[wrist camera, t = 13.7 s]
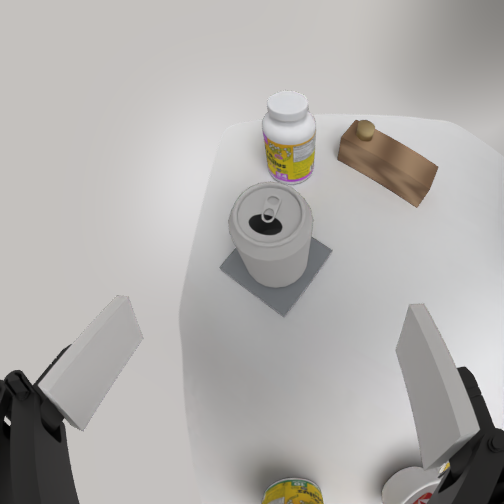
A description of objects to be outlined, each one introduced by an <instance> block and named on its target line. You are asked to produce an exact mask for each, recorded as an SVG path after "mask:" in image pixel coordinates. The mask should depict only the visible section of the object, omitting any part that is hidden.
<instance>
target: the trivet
mask: <svg viewBox="0 0 504 504" xmlns="http://www.w3.org/2000/svg"><path fill="white" fill-rule="evenodd" d="M332 251H333V250H331V249H330V248H328V247H327V246H325V245H324V244H322V243H321V242H319V241H318V240H316V239H314V238H313V237H311V241H310V248H309V255H308V261H307V267H306V269H305V271H304V273H303V274H302V276H301V277H300V278H299V279H298V280H297V281H295V282H294V283H292V284H290V285H288V286H286V287H279V288H273V287H267V286H264V285H262V284H260V283H258V282H257V281H256V280H255V279H254V278H253V277H252V276H251V275H250V274H249V272H248V270H247V268H246V266H245V264H244V262H243V260H242V258H241V256H240V254H239V252H238V250H237V248H235V250H234V251H233V252H232V253H231V254H230V256H229V257H228V258H227V259H226V260H225V262H224V263H223V264H222V265H221V266H220V269H221V270H222V271H223V272H224V273H226V274H227V275H228V276H230V277H231V278H232V279H234V280H235V281H236V282H237V283H239V284H240V285H241V286H243V287H244V288H245V289H247V290H248V291H249V292H251V293H252V294H253V295H255V296H256V297H257V298H259V299H260V300H261V301H263V302H264V303H265V304H267V305H268V306H269V307H271V308H272V309H273V310H275V311H276V312H277V313H279V314H280V315H281V316H283V317H285V316H286V315H287V314H288V312H289V311H290V310H291V308H292V307H293V306H294V304H295V303H296V302H297V300H298V299H299V298H300V296H301V295H302V294H303V292H304V291H305V290H306V288H307V287H308V286H309V284H310V283H311V281H312V280H313V279H314V277H315V276H316V274H317V273H318V272H319V270H320V269H321V267H322V266H323V265H324V263H325V262H326V260H327V259H328V258H329V256H330V255H331V253H332Z"/></svg>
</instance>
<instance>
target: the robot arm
mask: <svg viewBox="0 0 504 504" xmlns="http://www.w3.org/2000/svg"><path fill="white" fill-rule="evenodd" d="M142 339H143V336H142V333H141V331H140V328H139V325H138V323H137V320H136V317H135V314H134V311H133V308H132V306H131V303H130V300H129V297H127V296H119V295H117V296H116V297H115V298H114V299H113V300H112V301H111V302H110V303H109V304H108V305H107V306H106V307H105V308H104V310H103V311H102V312H101V313H100V314H99V315H98V316H97V317H96V318H95V319H94V320H93V321H92V322H91V324H90V325H89V326H88V327H87V328H86V329H85V330H84V331H83V333H81V335H80V336H79V337H78V338H77V339H76V340H75V341H74V343H73V344H71V345H69V346H68V347H66V348H65V349H63V350H62V351H61V352H60V354H59V355H58V356H57V358H56V359H54V361H53V362H52V364H50V365H49V367H48V368H47V369H46V370H45V371H44V373H43V374H42V375H41V376H40V377H39V379H38V380H37V381H36V383H34V385H32V384H31V383H30V382H29V380H28V379H27V377H26V376H25V375H24V373H23V372H22V371H20V370H15V371H12V372H11V373H9V374H8V375H7V376H6V377H5V379H4V381H3V380H0V504H79V500H78V497H77V493H76V489H75V485H74V480H73V475H72V470H71V465H70V459H69V453H68V447H67V439H66V431H65V425H64V423H63V422H62V421H63V419H64V418H65V419H66V420H67V421H68V422H69V423H70V425H72V426H73V427H75V428H77V429H79V430H81V431H84V429H85V427H86V426H87V424H88V423H89V421H90V419H91V418H92V416H93V414H94V413H95V411H96V409H97V408H98V407H99V405H100V403H101V402H102V400H103V398H104V397H105V395H106V394H107V392H108V391H109V389H110V387H111V386H112V385H113V383H114V382H115V380H116V378H117V377H118V375H119V374H120V372H121V371H122V369H123V368H124V366H125V365H126V363H127V362H128V360H129V359H130V357H131V356H132V354H133V353H134V351H135V350H136V348H137V347H138V346H139V344H140V343H141V341H142ZM396 353H397V357H398V360H399V363H400V367H401V370H402V374H403V377H404V381H405V385H406V388H407V392H408V396H409V400H410V404H411V408H412V412H413V417H414V421H415V426H416V431H417V436H418V441H419V446H420V452H421V458H422V464H423V471H427V470H430V469H434V468H438V467H441V466H442V465H443V464H445V463H446V462H447V461H448V460H449V463H450V466H449V467H448V468H447V469H446V470H444V471H443V472H442V473H441V474H440V475H439V476H438V477H437V478H441V477H442V476H443V475H444V476H443V478H442V479H441V481H440V483H439V484H438V486H437V488H436V489H435V491H434V493H433V494H432V496H431V497H430V499H429V500H428V502H427V503H426V504H504V431H503V430H501V429H498V428H495V426H494V424H493V422H492V419H491V416H490V414H489V411H488V408H487V406H486V403H485V401H484V398H483V396H481V391H480V389H479V387H478V384H477V382H476V380H475V377H474V375H473V374H472V373H471V372H470V371H469V370H468V369H467V368H466V367H460V368H456V366H455V363H454V361H453V359H452V357H451V355H450V353H449V350H448V348H447V346H446V344H445V342H444V340H443V338H442V336H441V334H440V332H439V330H438V328H437V327H436V325H435V323H434V321H433V319H432V317H431V315H430V313H429V312H428V310H427V308H426V306H425V304H409V307H408V311H407V315H406V318H405V322H404V325H403V328H402V332H401V335H400V338H399V341H398V344H397V347H396ZM5 416H6V417H7V418H8V419H9V420H10V421H11V425H10V426H9V425H8V424H7V423H6V422H5V421H4V417H5Z"/></svg>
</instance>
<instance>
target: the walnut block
mask: <svg viewBox="0 0 504 504" xmlns="http://www.w3.org/2000/svg"><path fill="white" fill-rule="evenodd" d="M338 160H339V161H341V162H343V163H345V164H346V165H348V166H350V167H352V168H354V169H355V170H357V171H359V172H361V173H362V174H364V175H366V176H367V177H369V178H371V179H373V180H374V181H376V182H378V183H379V184H381V185H382V186H384V187H386V188H387V189H389V190H390V191H392V192H394V193H395V194H397V195H398V196H400V197H401V198H403V199H404V200H406V201H407V202H409V203H410V204H412V205H413V206H415V207H416V208H417V207H418V206H419V204H420V203H421V201H422V200H423V199H424V197H425V196H426V194H427V193H428V191H429V190H430V187H431V185H432V182H433V180H434V177H435V175H436V172H437V170H438V166H436V165H435V164H434V163H432V162H430V161H429V160H427V159H426V158H424V157H423V156H421V155H420V154H418V153H416V152H415V151H413V150H411V149H410V148H408V147H406V146H405V145H403V144H401V143H400V142H398V141H396V140H394V139H393V138H391V137H389V136H387V135H385V134H383V133H382V132H380V131H378V130H376V129H375V126H374V124H373V123H371V122H370V121H367V120H361V121H358V120H355V121H354V123H353V124H352V125H351V126H350V127H349V129H348V130H347V131H346V132H345V133H344V134H343V136H342V137H341V142H340V148H339V154H338Z"/></svg>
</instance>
